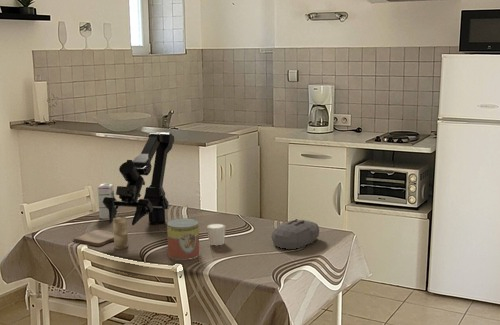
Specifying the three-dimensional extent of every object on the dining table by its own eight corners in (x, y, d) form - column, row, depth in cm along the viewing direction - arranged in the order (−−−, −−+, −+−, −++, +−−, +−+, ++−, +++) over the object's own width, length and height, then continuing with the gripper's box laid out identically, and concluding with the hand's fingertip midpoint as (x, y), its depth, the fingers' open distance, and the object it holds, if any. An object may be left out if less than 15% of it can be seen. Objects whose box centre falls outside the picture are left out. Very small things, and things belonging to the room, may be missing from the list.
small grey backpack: (291, 233, 248) (263, 246, 232) (291, 213, 246) (263, 225, 230) (325, 239, 239) (298, 254, 223) (325, 219, 238) (298, 231, 222)
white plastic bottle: (112, 218, 270) (111, 186, 268) (99, 218, 270) (97, 186, 268) (115, 215, 276) (114, 183, 273) (102, 215, 276) (100, 183, 273)
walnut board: (97, 232, 251) (97, 229, 250) (122, 237, 244) (122, 234, 244) (73, 241, 240) (73, 238, 239) (99, 246, 233) (98, 243, 233)
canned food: (174, 262, 216) (173, 228, 214) (163, 252, 226) (162, 220, 224) (204, 256, 221) (203, 224, 219) (192, 247, 231) (191, 216, 229)
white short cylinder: (228, 241, 238) (228, 224, 236) (221, 247, 231) (221, 229, 230) (211, 240, 240) (211, 222, 239) (204, 245, 233) (204, 227, 232)
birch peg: (127, 244, 236) (126, 216, 234) (128, 248, 231) (127, 219, 229) (114, 245, 234) (112, 217, 232) (114, 249, 230) (113, 220, 228)
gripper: (103, 175, 236) (90, 211, 228) (148, 178, 231) (136, 214, 223) (114, 191, 245) (101, 226, 237) (158, 194, 240) (147, 229, 232)
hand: (121, 223), depth 232 cm, fingers open, 9 cm apart
